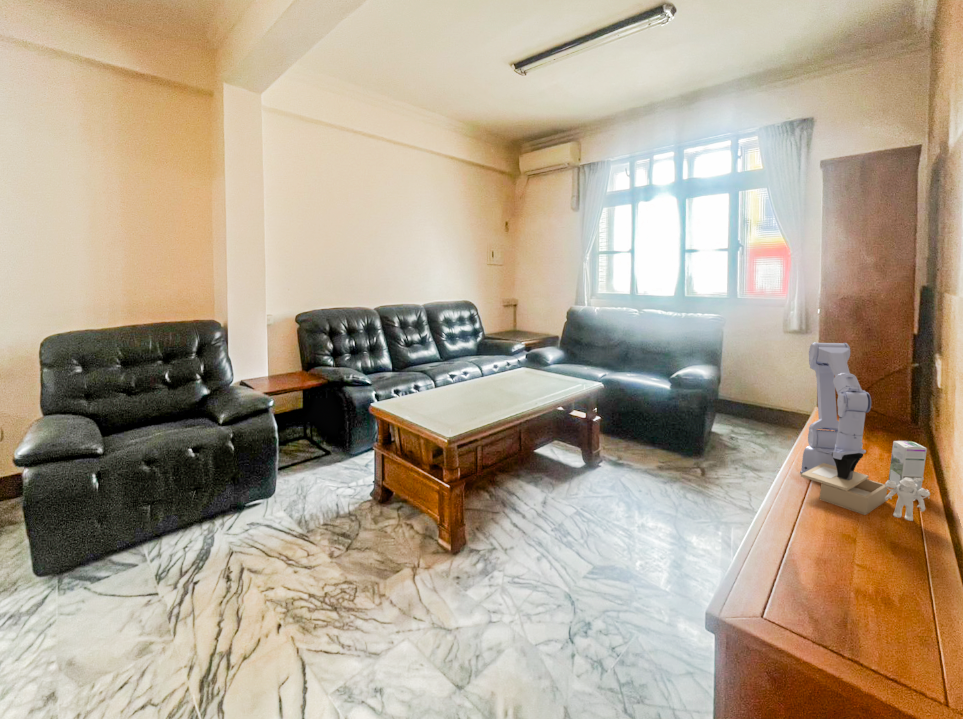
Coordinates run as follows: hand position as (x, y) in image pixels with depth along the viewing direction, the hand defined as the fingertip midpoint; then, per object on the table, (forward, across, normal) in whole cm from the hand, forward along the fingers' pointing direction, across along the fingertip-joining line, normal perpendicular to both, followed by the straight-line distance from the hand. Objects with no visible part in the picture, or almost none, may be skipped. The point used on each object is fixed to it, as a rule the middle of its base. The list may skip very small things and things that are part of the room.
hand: (844, 476), depth 135 cm
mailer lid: (+1, 0, +2) cm, 3 cm away
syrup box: (+7, +21, -8) cm, 23 cm away
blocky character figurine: (+7, 0, -14) cm, 15 cm away
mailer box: (+6, 0, -2) cm, 7 cm away
